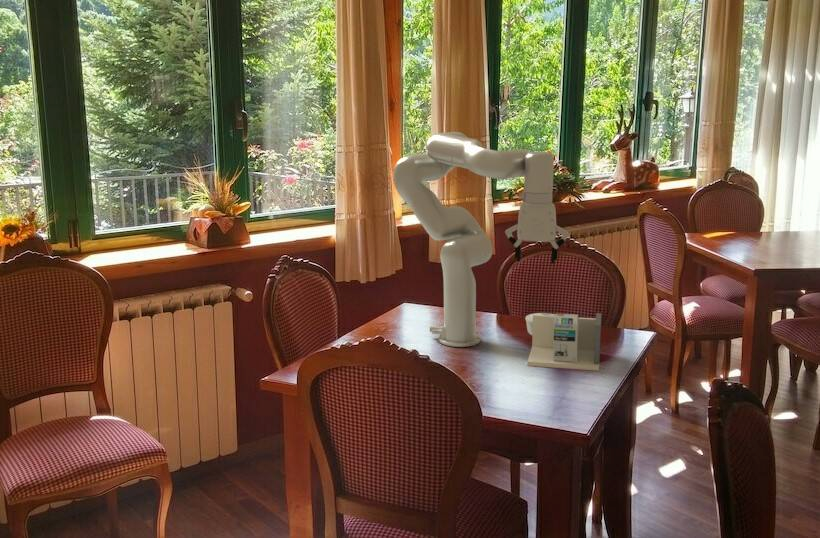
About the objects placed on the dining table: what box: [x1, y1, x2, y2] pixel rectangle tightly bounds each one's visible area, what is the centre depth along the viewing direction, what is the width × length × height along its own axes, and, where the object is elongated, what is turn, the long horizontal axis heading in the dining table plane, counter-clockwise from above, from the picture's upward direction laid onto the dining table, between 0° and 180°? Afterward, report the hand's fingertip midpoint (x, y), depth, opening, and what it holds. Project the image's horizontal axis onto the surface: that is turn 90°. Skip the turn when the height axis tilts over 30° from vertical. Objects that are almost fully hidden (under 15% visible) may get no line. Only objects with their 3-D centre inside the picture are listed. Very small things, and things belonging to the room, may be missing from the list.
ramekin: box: [525, 312, 555, 336], centre depth 246 cm, size 11×11×5 cm
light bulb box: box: [553, 312, 579, 362], centre depth 220 cm, size 11×7×11 cm, turn 168°
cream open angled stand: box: [527, 315, 600, 371], centre depth 221 cm, size 19×15×10 cm
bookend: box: [594, 312, 602, 366], centre depth 219 cm, size 1×12×11 cm, turn 167°
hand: (535, 261), depth 217 cm, fingers open, 8 cm apart
